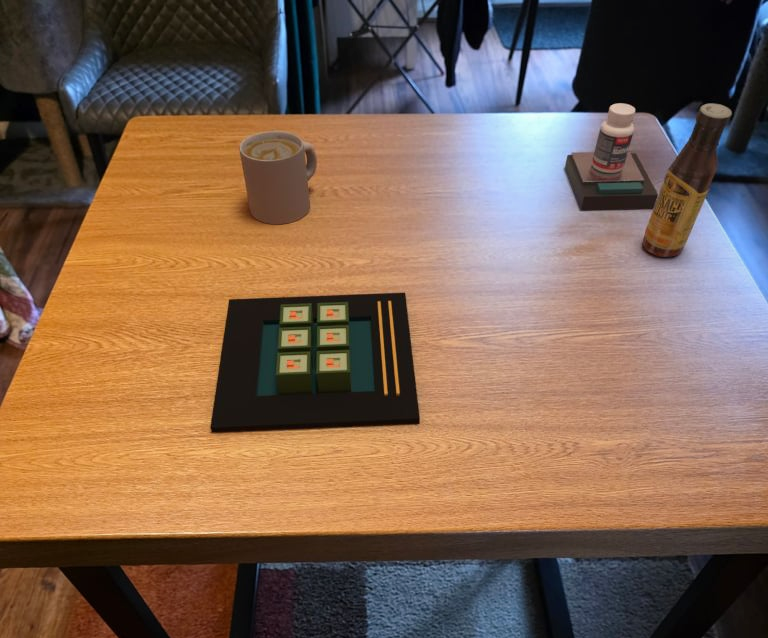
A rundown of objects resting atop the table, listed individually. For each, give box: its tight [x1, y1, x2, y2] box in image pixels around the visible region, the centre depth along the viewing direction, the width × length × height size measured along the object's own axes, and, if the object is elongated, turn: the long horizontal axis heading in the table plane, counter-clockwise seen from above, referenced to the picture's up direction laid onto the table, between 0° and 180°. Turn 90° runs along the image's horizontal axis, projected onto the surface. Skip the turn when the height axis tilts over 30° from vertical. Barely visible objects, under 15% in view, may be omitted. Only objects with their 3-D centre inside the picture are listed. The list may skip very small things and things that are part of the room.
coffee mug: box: [238, 130, 318, 225], centre depth 106 cm, size 13×10×10 cm
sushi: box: [209, 292, 421, 433], centre depth 85 cm, size 25×25×4 cm
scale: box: [564, 150, 659, 211], centre depth 111 cm, size 12×14×3 cm
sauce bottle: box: [642, 103, 733, 258], centre depth 93 cm, size 6×6×20 cm
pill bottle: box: [592, 102, 636, 173], centre depth 107 cm, size 5×5×9 cm
